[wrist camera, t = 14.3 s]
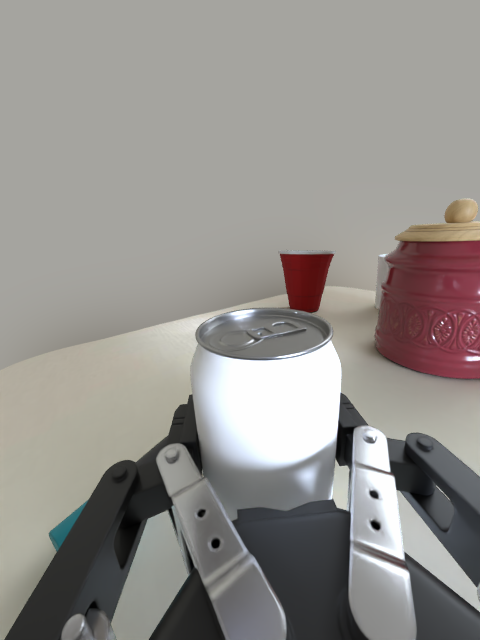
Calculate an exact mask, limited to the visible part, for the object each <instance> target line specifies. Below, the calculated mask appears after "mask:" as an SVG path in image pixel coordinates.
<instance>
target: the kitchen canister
mask: <svg viewBox="0 0 480 640" xmlns="http://www.w3.org/2000/svg"><path fill="white" fill-rule="evenodd" d="M477 212H478V206H477V203H476V202H475V201H474V200H472V199H467V198H466V199H459V200H456V201H454V202H452V203H451V204H450V205H449V206H448V208H447V209H446V212H445V221H446V222H447V223H438V224H437V223H436V224H422V225H412V226H410V227H409V229H407V230H406V231H404V232H402V233H400V234H399V235H397V236H395V240H398V241H400V242H399V244H398V246H397V247H396V249H395V250H394V251H393V252H391V253H389V254H387V255H386V256H385V257H384V260H385V262H386V263H387V264H388V271H387V276H386V279H385V280H384V281H383V282H382V283H381V288H382V292H381V300H380V308H379V316H378V323H377V326H376V328H375V340H376V348H377V349H378V351H379V352H380V353H381V354H382V355H384V356H385V357H386V358H388V359H389V360H391V361H393V362H395V363H397V364H399V365H402V366H404V367H407V368H410V369H413V370H416V371H419V372H423V373H427V374H431V375H436V376H442V377H449V378H461V379H475V378H480V221H472V220H473V219H474V218H475V217H476V215H477ZM471 221H472V222H471Z"/></svg>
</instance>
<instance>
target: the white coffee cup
mask: <svg viewBox="0 0 480 640" xmlns="http://www.w3.org/2000/svg"><path fill="white" fill-rule="evenodd" d="M386 255H387V254H384V255H379V256H378V270H377V285H376V286H377V287H376V299H375V307H376V308H377V309H379V308H380V300H381V292H382V288H381V283H382V282H383V281H384V280H385V279H386V276H387V271H388V264H387V263H386V262H385V260H384V257H385V256H386Z"/></svg>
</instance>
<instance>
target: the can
mask: <svg viewBox="0 0 480 640" xmlns="http://www.w3.org/2000/svg"><path fill="white" fill-rule="evenodd" d="M195 336H196V340H197V342H198V346H197V348H196V351H195V354H194V356H193V359H192V363H191V369H190V371H191V385H192V394H193V402H194V410H195V417H196V425H197V432H198V440H199V447H200V454H201V462H202V469H203V477H206V478H207V479H208V480H209V482H210V484H211V486H212V487H213V489H214V491H215V493H216V495H217V496H218V498H219V500H220V502H221V504H222V505H223V507H224V509H225V511H226V513H227V514H228V516H229V518H230V520H231V521H233V520H235V519H237V509H247V508H256V507H264V508H271V509H277V510H283V511H288V510H291V509H293V508H296V507H298V506H301V505H303V504H305V503H308V502H312V501H321V500H330V499H332V491H333V479H334V467H335V455H336V443H337V430H338V417H339V404H340V390H341V364H340V361H339V358H338V355H337V353H336V351H335V349H334V347H333V345H332V342H331V339H332V336H333V328H332V326H331V325H330V324H329V323H328V322H327V321H326V320H325V319H323V318H321V317H319V316H317V315H314V314H311V313H308V312H304V311H299V310H293V309H285V308H252V309H243V310H237V311H232V312H227V313H224V314H220V315H218V316H215V317H213V318H210V319H208V320H207V321H205V322H204V323H202V324H201V325H200V326H199V327H198V329H197V330H196V334H195Z"/></svg>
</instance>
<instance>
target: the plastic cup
mask: <svg viewBox="0 0 480 640" xmlns="http://www.w3.org/2000/svg"><path fill="white" fill-rule="evenodd" d="M278 253H280V256H281V261H282V266H283V270H284V277H285V283H286V289H287V294H288V300H289V306H290V309H293V310H299V311H304V312H314V311H317V310H318V309H319V306H320V302H321V297H322V294H323V290H324V286H325V282H326V277H327V273H328V268H329V266H330V262H331V260H332V257H333V256H334V254H335V253H336V251H278Z"/></svg>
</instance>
